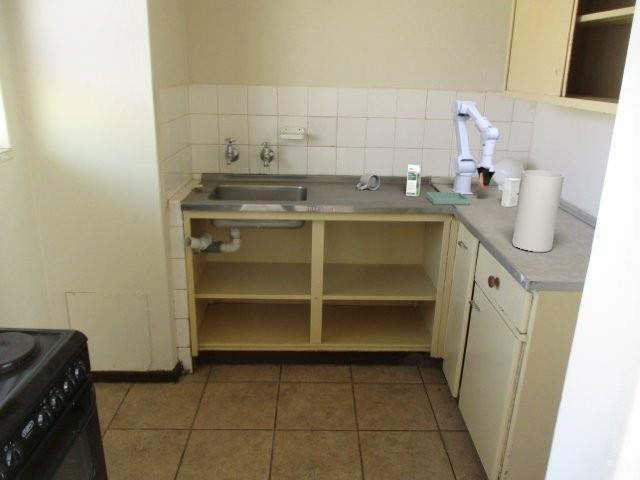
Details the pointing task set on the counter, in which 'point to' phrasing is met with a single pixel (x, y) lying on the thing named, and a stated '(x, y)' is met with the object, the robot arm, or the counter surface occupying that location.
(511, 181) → the skincare box
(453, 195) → the tray
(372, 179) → the ceramic mug
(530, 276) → the counter surface
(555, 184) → the cylinder vase
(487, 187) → the salt shaker
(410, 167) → the syrup box
